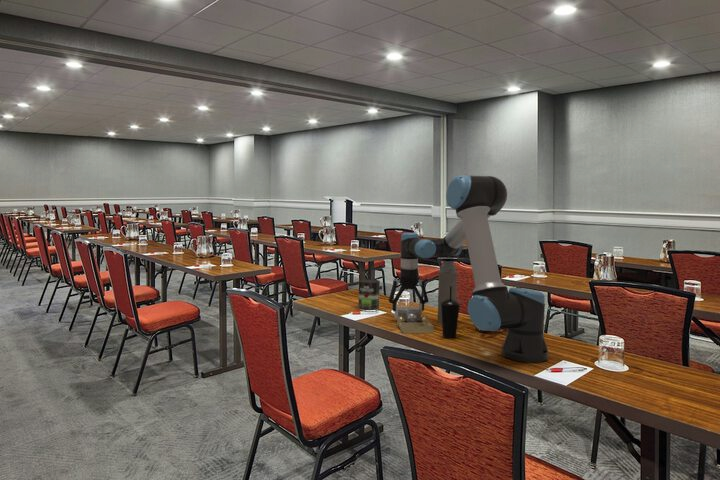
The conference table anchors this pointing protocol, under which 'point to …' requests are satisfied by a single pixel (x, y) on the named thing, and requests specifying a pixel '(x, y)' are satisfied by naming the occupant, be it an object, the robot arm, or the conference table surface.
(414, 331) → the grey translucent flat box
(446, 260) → the thermos bottle
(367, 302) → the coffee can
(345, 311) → the conference table surface
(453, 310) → the drinking cup
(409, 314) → the grey mechanical part
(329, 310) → the conference table surface
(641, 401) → the conference table surface
